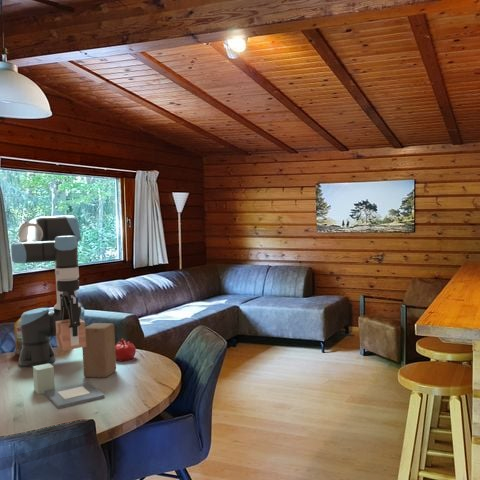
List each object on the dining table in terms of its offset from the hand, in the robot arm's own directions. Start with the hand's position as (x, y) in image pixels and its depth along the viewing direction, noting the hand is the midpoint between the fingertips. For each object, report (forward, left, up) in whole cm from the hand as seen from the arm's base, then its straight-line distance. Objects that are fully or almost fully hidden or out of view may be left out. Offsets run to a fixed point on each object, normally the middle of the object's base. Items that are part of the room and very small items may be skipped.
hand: (71, 342), depth 184 cm
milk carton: (-72, +2, -20) cm, 75 cm away
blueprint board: (0, 0, -19) cm, 19 cm away
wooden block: (-18, +16, -20) cm, 31 cm away
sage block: (-13, -7, -19) cm, 24 cm away
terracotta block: (0, 0, -1) cm, 1 cm away
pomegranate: (-32, +32, -20) cm, 49 cm away
